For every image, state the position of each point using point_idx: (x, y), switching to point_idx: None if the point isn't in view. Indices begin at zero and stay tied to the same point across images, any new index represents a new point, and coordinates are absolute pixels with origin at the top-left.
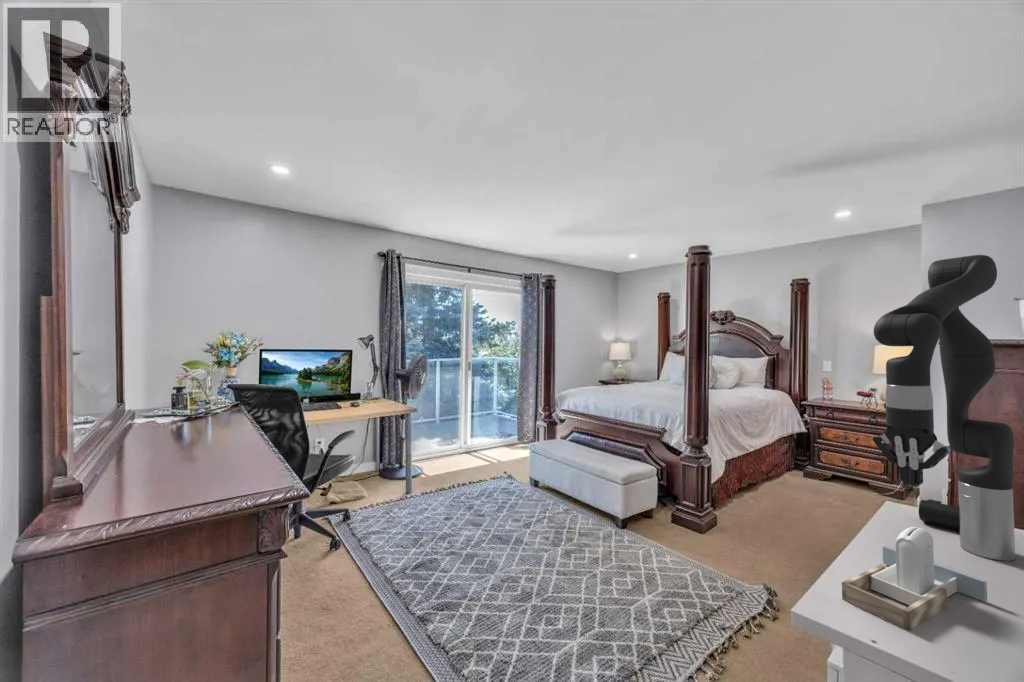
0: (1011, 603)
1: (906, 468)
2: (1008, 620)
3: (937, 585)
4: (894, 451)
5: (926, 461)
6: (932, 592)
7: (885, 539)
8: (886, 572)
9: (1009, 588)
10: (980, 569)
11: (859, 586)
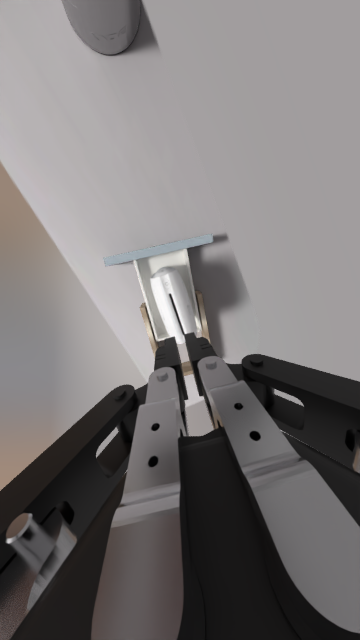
0: (215, 211)
1: (187, 398)
2: (230, 258)
3: (175, 266)
4: (103, 431)
5: (276, 423)
6: (201, 315)
7: (33, 162)
8: (150, 311)
9: (195, 162)
10: (149, 128)
11: None
